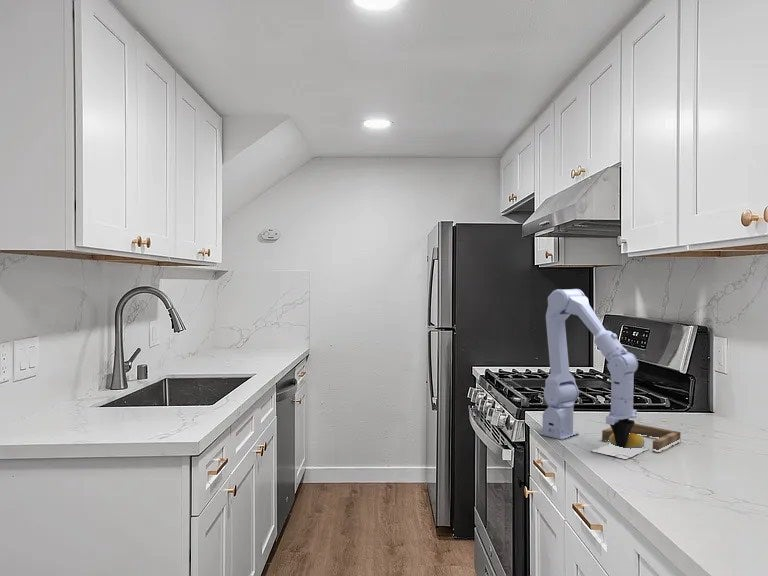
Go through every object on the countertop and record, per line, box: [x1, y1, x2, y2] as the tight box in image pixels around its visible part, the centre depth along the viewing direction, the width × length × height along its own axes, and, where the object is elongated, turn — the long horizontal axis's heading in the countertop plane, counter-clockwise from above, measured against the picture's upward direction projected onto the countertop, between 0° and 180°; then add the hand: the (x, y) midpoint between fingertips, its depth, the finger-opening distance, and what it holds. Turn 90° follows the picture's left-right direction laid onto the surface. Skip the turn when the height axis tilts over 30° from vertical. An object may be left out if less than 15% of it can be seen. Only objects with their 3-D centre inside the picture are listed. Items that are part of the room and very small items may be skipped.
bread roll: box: [608, 433, 645, 449], centre depth 173 cm, size 8×9×4 cm
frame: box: [601, 422, 681, 450], centre depth 178 cm, size 15×16×3 cm
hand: (621, 446), depth 169 cm, fingers closed
